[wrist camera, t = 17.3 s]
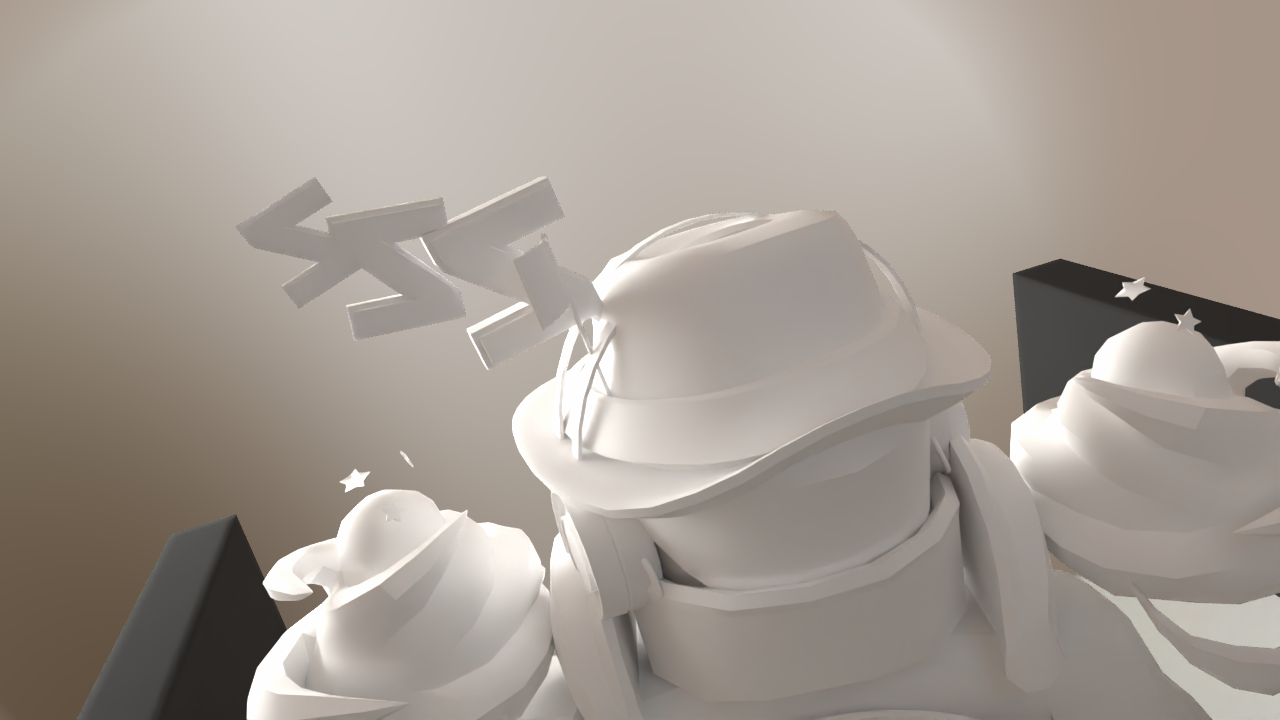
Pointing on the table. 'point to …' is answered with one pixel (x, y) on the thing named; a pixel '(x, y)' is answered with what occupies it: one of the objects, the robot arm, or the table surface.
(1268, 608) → the table surface
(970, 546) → the hat wearing toy figure
